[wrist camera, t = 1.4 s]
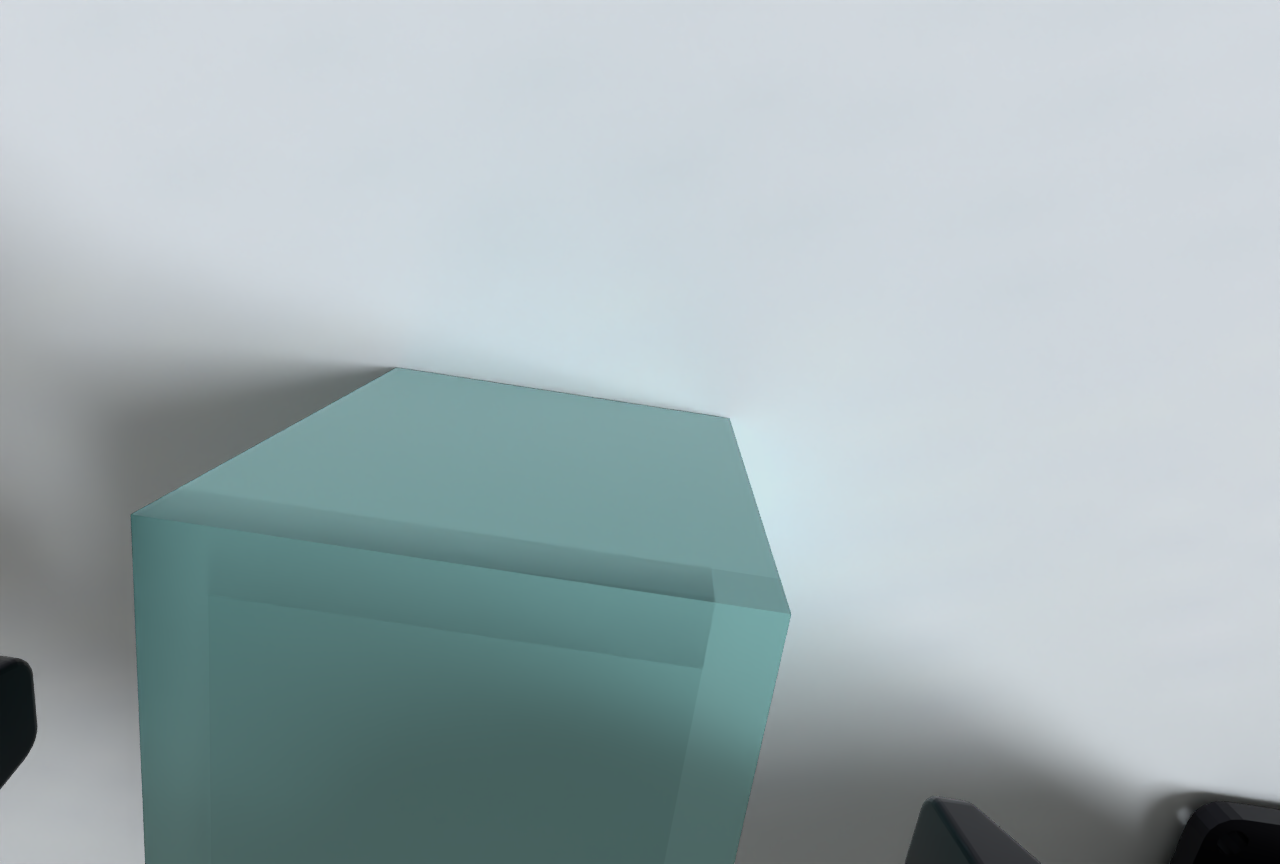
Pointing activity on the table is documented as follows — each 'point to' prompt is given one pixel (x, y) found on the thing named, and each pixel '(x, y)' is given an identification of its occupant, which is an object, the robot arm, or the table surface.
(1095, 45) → the table surface
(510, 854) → the teal rimmed cube
